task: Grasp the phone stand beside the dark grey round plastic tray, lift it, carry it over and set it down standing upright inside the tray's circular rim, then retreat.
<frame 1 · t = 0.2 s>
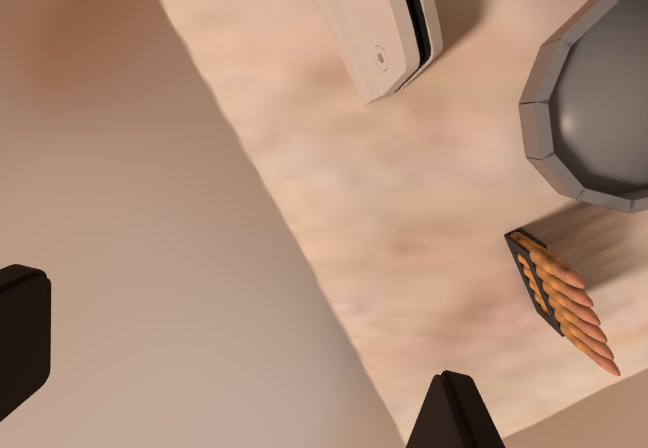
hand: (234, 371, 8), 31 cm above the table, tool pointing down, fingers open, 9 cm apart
ammunition clip: (528, 270, 40), on the table
round tray: (629, 101, 34), on the table
white electronic device: (364, 8, 34), on the table
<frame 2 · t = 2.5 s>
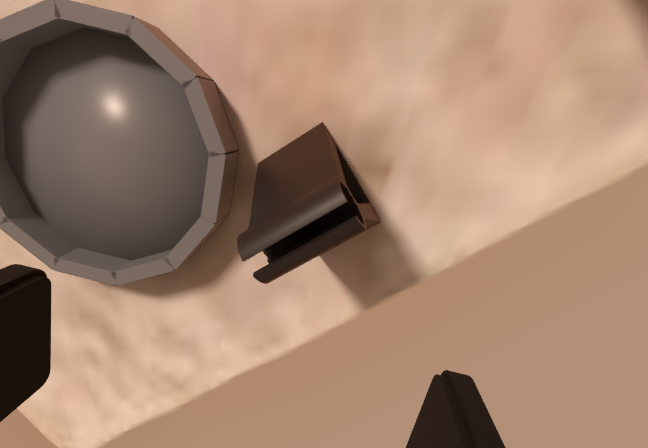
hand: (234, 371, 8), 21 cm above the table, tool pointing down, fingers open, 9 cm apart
phone stand: (320, 191, 29), on the table
round tray: (115, 153, 29), on the table
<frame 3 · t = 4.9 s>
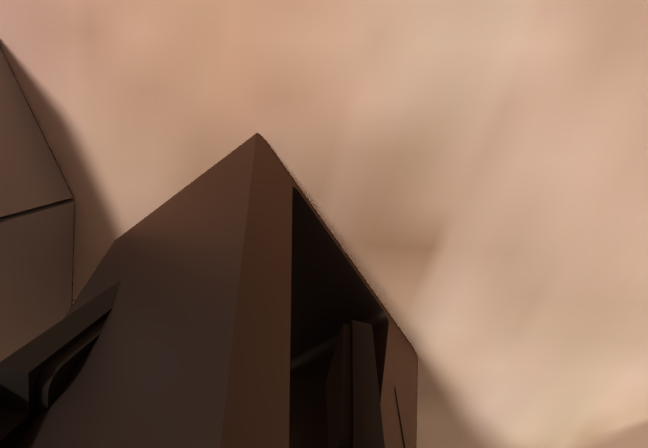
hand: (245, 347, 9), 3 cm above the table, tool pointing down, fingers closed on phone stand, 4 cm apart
phone stand: (272, 291, 12), on the table, touching gripper
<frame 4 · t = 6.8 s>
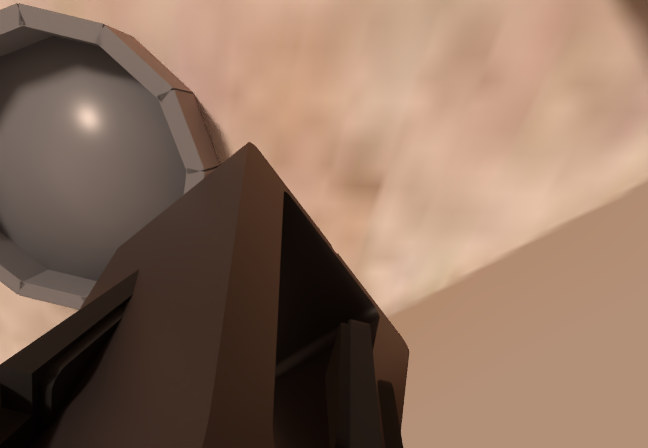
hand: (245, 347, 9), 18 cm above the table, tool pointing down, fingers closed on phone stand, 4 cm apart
phone stand: (269, 291, 13), point 14 cm above the table, touching gripper
round tray: (87, 169, 27), on the table
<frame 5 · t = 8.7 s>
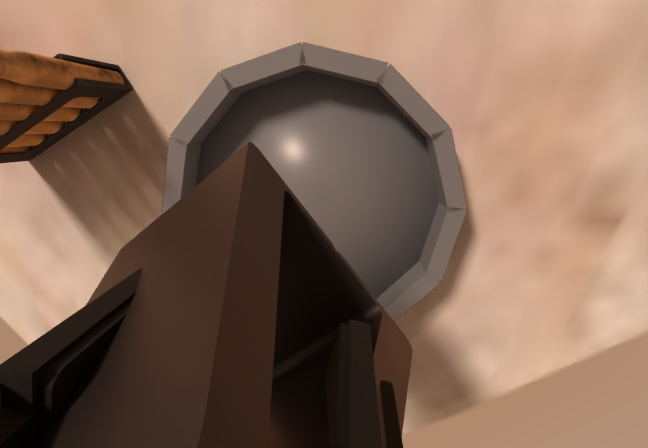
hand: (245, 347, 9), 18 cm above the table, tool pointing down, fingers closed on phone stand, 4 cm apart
ammunition clip: (73, 115, 26), on the table
phone stand: (271, 291, 13), point 14 cm above the table, touching gripper
round tray: (313, 201, 27), on the table
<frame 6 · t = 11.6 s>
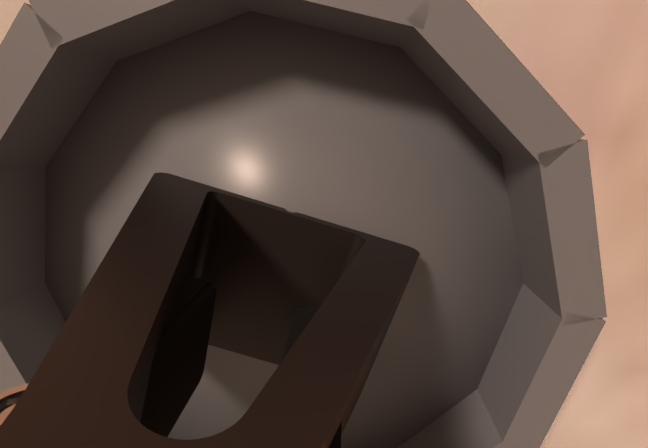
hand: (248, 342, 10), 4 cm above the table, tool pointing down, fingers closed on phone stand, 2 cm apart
phone stand: (271, 282, 13), point 1 cm above the table, touching gripper
round tray: (275, 276, 14), on the table
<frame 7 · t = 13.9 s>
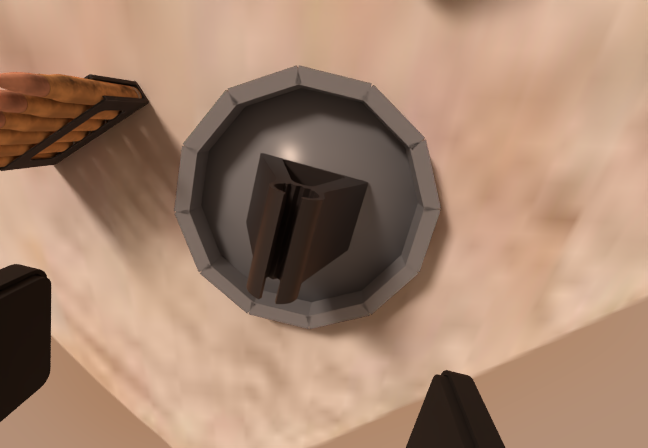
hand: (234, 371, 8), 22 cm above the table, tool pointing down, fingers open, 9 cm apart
ammunition clip: (94, 124, 30), on the table
phone stand: (306, 201, 30), resting on round tray
round tray: (308, 202, 30), on the table
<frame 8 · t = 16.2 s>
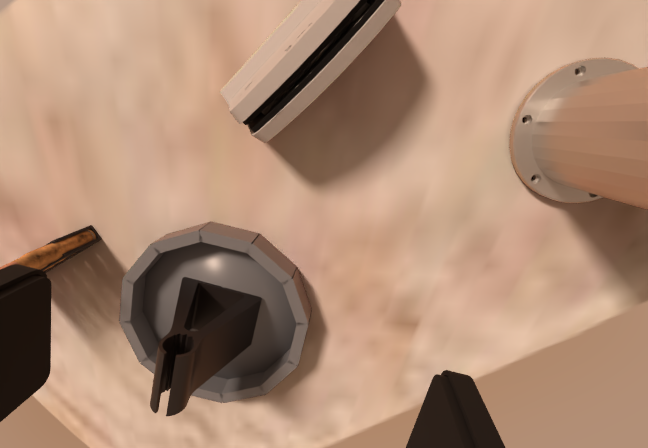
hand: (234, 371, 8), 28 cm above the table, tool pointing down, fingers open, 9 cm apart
ammunition clip: (63, 252, 40), on the table
phone stand: (219, 309, 40), resting on round tray
round tray: (221, 308, 40), on the table
white electronic device: (309, 59, 33), on the table
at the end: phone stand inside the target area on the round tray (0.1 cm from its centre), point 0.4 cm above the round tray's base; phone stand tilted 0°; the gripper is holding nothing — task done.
